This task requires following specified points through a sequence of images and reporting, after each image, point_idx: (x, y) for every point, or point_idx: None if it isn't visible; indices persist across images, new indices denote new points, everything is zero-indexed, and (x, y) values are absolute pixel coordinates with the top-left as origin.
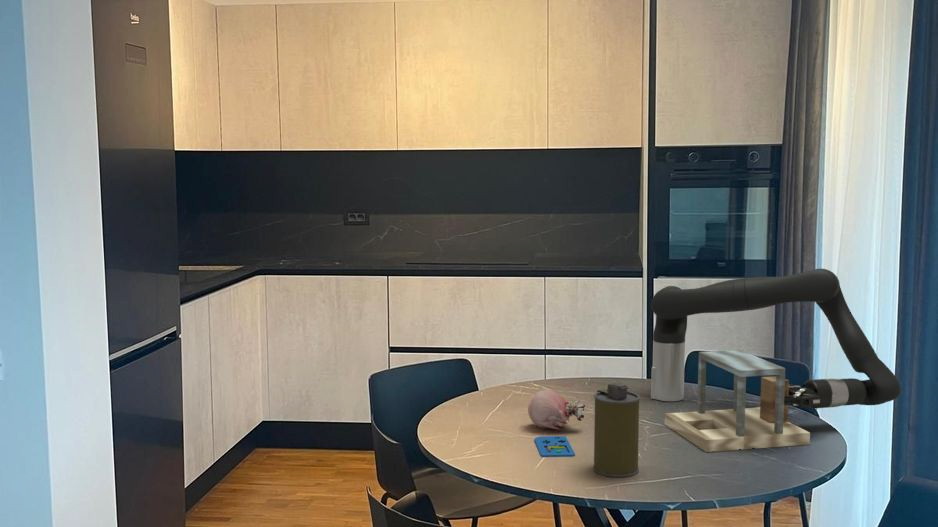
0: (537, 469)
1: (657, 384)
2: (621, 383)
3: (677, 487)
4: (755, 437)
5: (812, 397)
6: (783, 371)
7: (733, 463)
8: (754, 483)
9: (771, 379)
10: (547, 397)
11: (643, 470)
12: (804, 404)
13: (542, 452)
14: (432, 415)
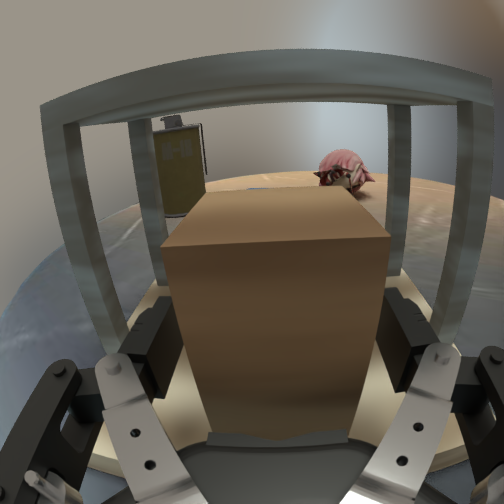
0: (217, 189)
1: None
2: (173, 115)
3: (110, 229)
4: (141, 303)
5: (9, 436)
6: (46, 118)
7: (116, 275)
8: (55, 270)
9: (258, 196)
10: (329, 153)
11: (167, 219)
12: (78, 436)
13: (255, 188)
14: (380, 173)
